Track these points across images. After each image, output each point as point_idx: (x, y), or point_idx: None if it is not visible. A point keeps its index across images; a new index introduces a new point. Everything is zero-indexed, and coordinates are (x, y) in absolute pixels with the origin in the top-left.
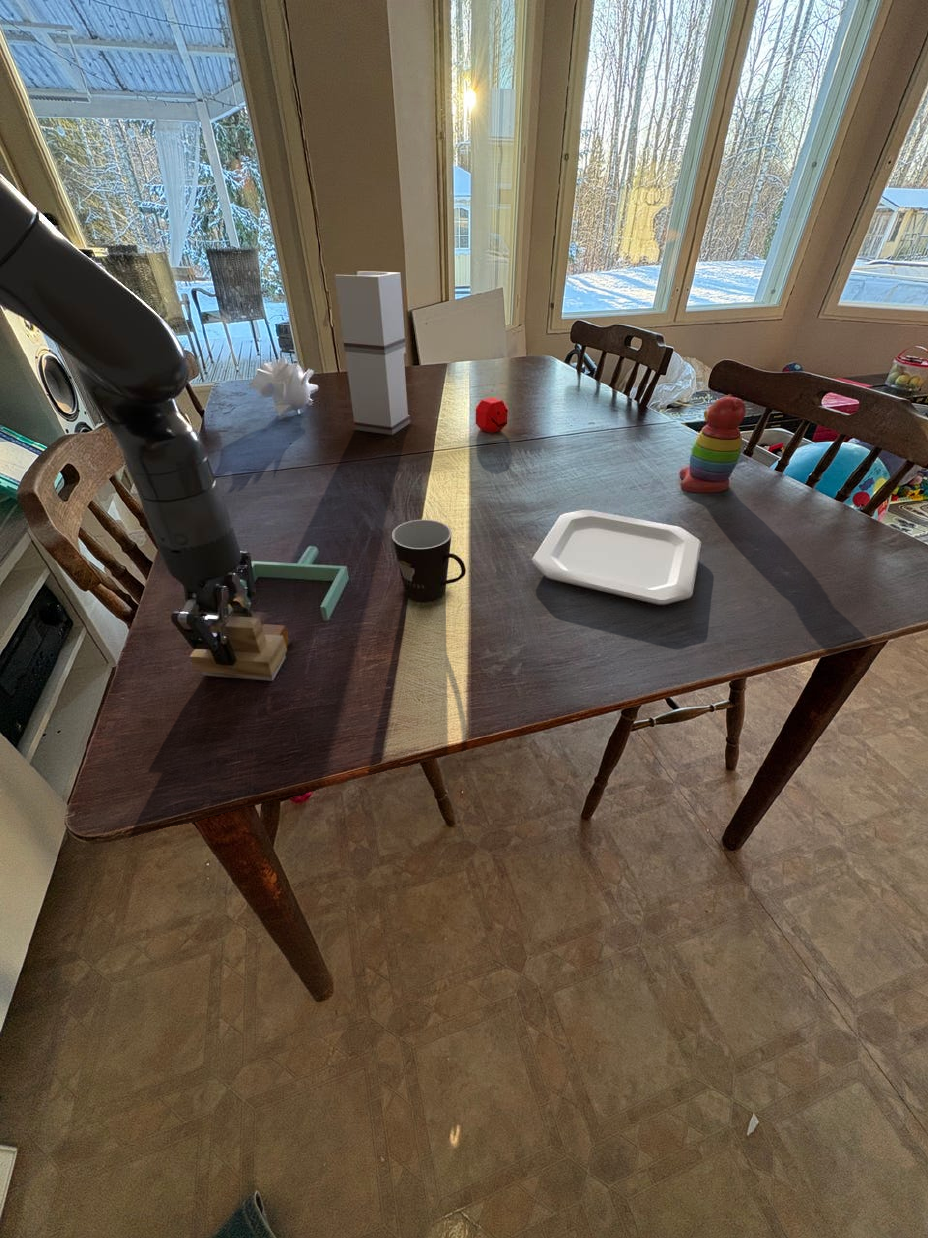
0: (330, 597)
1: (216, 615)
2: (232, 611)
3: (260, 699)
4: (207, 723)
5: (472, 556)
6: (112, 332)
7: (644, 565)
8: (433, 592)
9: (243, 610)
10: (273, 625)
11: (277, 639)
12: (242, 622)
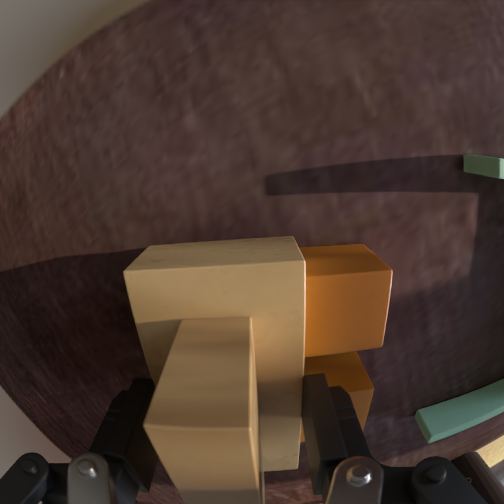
0: (458, 431)
1: (252, 471)
2: (327, 462)
3: None
4: (60, 331)
5: (495, 465)
6: None
7: None
8: None
9: (323, 494)
10: (364, 412)
11: (281, 465)
12: None
